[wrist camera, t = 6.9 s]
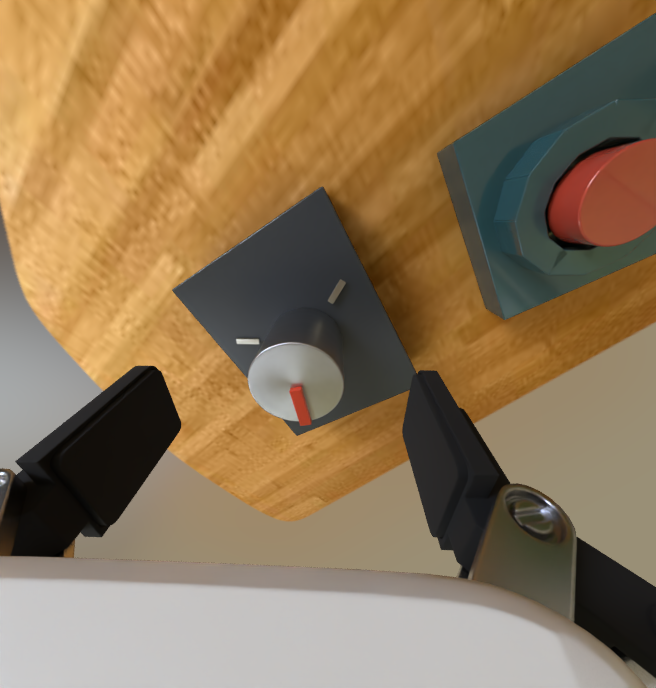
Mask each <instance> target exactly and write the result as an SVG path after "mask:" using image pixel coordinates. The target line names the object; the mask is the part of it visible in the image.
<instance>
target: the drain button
mask: <svg viewBox="0 0 656 688" xmlns="http://www.w3.org/2000/svg"><path fill="white" fill-rule="evenodd" d="M547 219H548V225H549V228H550V230H551V231H552V233H553V234H554V235H555V236H556V237H557V238H558V239H560V240H562V241H564V242H568V243H575V244H584V245H592V246H600V247H612V246H617V245H621V244H625V243H628V242H630V241H632V240H635V239H636V238H638V237H640V236H642V235H643V234H645V233H647V232H648V231H649V230H651V229H652V228H653V227H655V226H656V138H650V139H645V140H641V141H637V142H633V143H629V144H625V145H621V146H617V147H612V148H608V149H604V150H600V151H598V152H595V153H593V154H591V155H589V156H587V157H585V158H584V159H582V160H581V161H579V162H578V163H577V164H575V165H574V166H573V167H572V168H571V169H570V170H569V171H568V172H567V173H566V174H565V175H564V176H563V178H562V179H561V180H560V182H559V183H558V185H557V186H556V188H555V190H554V192H553V194H552V196H551V199H550V202H549V205H548V211H547Z"/></svg>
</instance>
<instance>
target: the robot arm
mask: <svg viewBox="0 0 656 688" xmlns="http://www.w3.org/2000/svg"><path fill="white" fill-rule="evenodd" d="M180 429H181V421H180V418H179V416H178V413H177V411H176V408H175V406H174V403H173V400H172V398H171V395H170V393H169V390H168V388H167V385H166V382H165V380H164V377H163V375H162V373H161V371H159V370H158V369H157V368H156V367H154V366H135V367H134V368H132V369H131V370H130V371H128V372H127V373H126V374H125V375H123V376H122V377H121V378H120V379H118V380H117V381H116V382H115V383H113V384H112V385H111V386H110V387H108V388H107V389H106V390H105V391H103V392H102V393H101V394H100V395H98V396H97V397H96V398H95V399H93V400H92V401H91V402H89V403H88V404H87V405H86V406H85V407H83V408H82V409H81V410H80V411H78V412H77V413H76V414H74V415H73V416H72V417H71V418H70V419H68V420H67V421H66V422H64V423H63V424H62V425H61V426H59V427H58V428H57V429H56V430H54V431H53V432H52V433H51V434H49V435H48V436H47V437H45V438H44V439H43V440H42V441H40V442H39V443H38V444H37V445H35V446H34V447H33V448H32V449H30V450H29V451H28V452H27V453H25V454H24V455H23V456H22V457H20V458H19V459H18V460H17V461H16V463H17V464H18V465H19V466H20V467H21V468H22V469H23V470H22V471H21V472H20V473H18V474H17V475H16V474H15V473H14V472H13V471H11V470H10V469H3V468H2V469H0V688H656V587H655V586H653V585H651V584H650V583H648V582H647V581H645V580H644V579H642V578H641V577H639V576H637V575H636V574H634V573H633V572H631V571H630V570H628V569H626V568H625V567H623V566H622V565H620V564H619V563H617V562H616V561H614V560H612V559H611V558H609V557H608V556H606V555H605V554H603V553H601V552H600V551H598V550H597V549H595V548H594V547H592V546H590V545H589V544H587V543H586V542H584V541H582V540H581V539H580V538H578V537H576V531H575V528H574V526H573V524H572V522H571V520H570V518H569V517H568V516H567V514H566V513H565V512H564V511H563V510H562V508H561V507H560V506H559V505H557V504H556V503H555V502H554V501H553V500H552V499H551V498H549V497H548V496H546V495H545V494H543V493H542V492H540V491H538V490H536V489H534V488H531V487H529V486H526V485H522V484H510V482H509V480H508V479H507V477H506V476H505V474H504V472H503V471H502V469H501V468H500V466H499V465H498V463H497V461H496V460H495V458H494V456H493V455H492V453H491V452H490V450H489V448H488V447H487V445H486V443H485V442H484V441H483V439H482V437H481V435H480V434H479V432H478V431H477V429H476V427H475V426H474V424H473V423H472V421H471V419H470V418H469V416H468V415H467V413H466V412H465V411H464V410H463V409H462V408H459V407H458V406H457V404H456V402H455V401H454V399H453V397H452V396H451V394H450V392H449V391H448V389H447V387H446V386H445V384H444V382H443V380H442V379H441V377H440V375H439V374H438V372H437V371H424V370H420V371H419V372H418V374H414V375H413V377H412V382H411V387H410V392H409V397H408V402H407V407H406V413H405V418H404V423H403V438H404V442H405V445H406V449H407V452H408V456H409V459H410V463H411V466H412V470H413V473H414V477H415V480H416V484H417V487H418V491H419V494H420V498H421V501H422V505H423V508H424V512H425V515H426V519H427V523H428V526H429V529H430V533H431V534H432V536H433V537H437V538H438V541H439V544H440V548H441V550H453V551H454V554H455V557H456V560H457V562H458V563H459V564H460V565H461V566H460V569H459V571H458V574H457V577H447V576H440V575H431V574H420V573H405V572H389V571H375V570H360V569H337V568H316V567H294V566H272V565H271V566H270V565H249V564H224V563H200V562H175V561H173V562H172V561H150V560H123V559H120V560H119V559H94V558H74V547H75V538H76V537H77V536H78V535H79V533H80V532H81V533H82V534H83V535H84V536H85V537H87V536H88V537H102V536H103V534H104V533H105V532H106V531H107V529H108V528H109V526H110V525H112V524H114V523H115V522H116V521H117V520H118V519H119V517H120V516H121V514H122V513H123V511H124V510H125V508H126V507H127V506H128V504H129V503H130V501H131V500H132V498H133V497H134V496H135V494H136V493H137V491H138V490H139V489H140V487H141V486H142V484H143V483H144V481H145V480H146V478H147V477H148V475H149V474H150V473H151V471H152V470H153V468H154V467H155V466H156V464H157V463H158V461H159V460H160V458H161V457H162V456H163V454H164V453H165V451H166V450H167V448H168V447H169V446H170V444H171V443H172V441H173V440H174V438H175V437H176V436H177V434H178V433H179V431H180Z"/></svg>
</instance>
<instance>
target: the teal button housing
mask: <svg viewBox="0 0 656 688" xmlns="http://www.w3.org/2000/svg"><path fill="white" fill-rule="evenodd" d="M650 138H656V13H654V14H653V15H651V16H650V17H648V18H646V19H645V20H643V21H642V22H640V23H639V24H637V25H635V26H634V27H632V28H631V29H629V30H628V31H626V32H624V33H623V34H621V35H620V36H618V37H617V38H615V39H613V40H612V41H610V42H609V43H607V44H606V45H604V46H602V47H601V48H599V49H598V50H596V51H595V52H593V53H592V54H590V55H588V56H587V57H585V58H584V59H582V60H581V61H579V62H578V63H576V64H574V65H573V66H571V67H570V68H568V69H567V70H565V71H564V72H562V73H560V74H559V75H557V76H556V77H554V78H553V79H551V80H550V81H548V82H546V83H545V84H543V85H542V86H540V87H539V88H537V89H535V90H534V91H532V92H531V93H529V94H528V95H526V96H525V97H523V98H521V99H520V100H518V101H517V102H515V103H514V104H512V105H511V106H509V107H507V108H506V109H504V110H503V111H501V112H500V113H498V114H497V115H495V116H493V117H492V118H490V119H489V120H487V121H486V122H484V123H483V124H481V125H479V126H478V127H476V128H475V129H473V130H472V131H470V132H469V133H467V134H465V135H464V136H462V137H461V138H459V139H458V140H456V141H455V142H453V143H451V144H450V145H448V146H447V147H445V148H444V149H442V150H441V151H439V152H438V153H437V156H438V159H439V162H440V165H441V168H442V171H443V174H444V178H445V181H446V184H447V187H448V190H449V193H450V197H451V200H452V203H453V206H454V209H455V212H456V216H457V219H458V222H459V225H460V228H461V231H462V234H463V238H464V241H465V244H466V247H467V250H468V253H469V257H470V260H471V263H472V266H473V269H474V272H475V276H476V279H477V282H478V285H479V288H480V291H481V295H482V298H483V301H484V304H485V307H486V309H488V310H489V311H491V312H492V313H494V314H496V315H497V316H499V317H500V318H502V319H504V320H506V319H508V318H511V317H513V316H515V315H517V314H520V313H522V312H524V311H527V310H529V309H531V308H533V307H536V306H538V305H540V304H542V303H545V302H547V301H549V300H552V299H554V298H556V297H558V296H561V295H563V294H565V293H568V292H570V291H572V290H574V289H577V288H579V287H581V286H583V285H586V284H588V283H590V282H593V281H595V280H597V279H599V278H602V277H604V276H606V275H608V274H611V273H613V272H615V271H618V270H620V269H622V268H624V267H627V266H629V265H631V264H634V263H636V262H638V261H640V260H643V259H645V258H647V257H649V256H652V255H654V254H656V226H655V227H653V228H652V229H651V230H649V231H648V232H647V233H645V234H643V235H642V236H640V237H638V238H636V239H635V240H632V241H630V242H628V243H625V244H621V245H617V246H612V247H600V246H592V245H584V244H575V243H568V242H564V241H562V240H560V239H558V238H557V237H556V236H555V235H554V234H553V233H552V231H551V230H550V228H549V225H548V219H547V211H548V205H549V202H550V199H551V196H552V194H553V192H554V190H555V188H556V186H557V185H558V183H559V182H560V180H561V179H562V178H563V176H564V175H565V174H566V173H567V172H568V171H569V170H570V169H571V168H572V167H573V166H574V165H575V164H577V163H578V162H579V161H581V160H582V159H584V158H585V157H587V156H589V155H591V154H593V153H595V152H598V151H600V150H604V149H608V148H612V147H617V146H621V145H625V144H629V143H633V142H637V141H641V140H645V139H650Z"/></svg>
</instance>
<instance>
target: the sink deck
mask: <svg viewBox="0 0 656 688" xmlns="http://www.w3.org/2000/svg"><path fill="white" fill-rule="evenodd" d="M172 291H173V292H174V293H175V294H176V296H177V297H178V298H179V299H180V300H181V301H182V303H183V304H184V305H185V306H186V307H187V308H188V310H189V311H190V312H191V313H192V314H193V315H194V317H195V318H196V319H197V320H198V321H199V322H200V324H201V325H202V326H203V327H204V328H205V329H206V331H207V332H208V333H209V334H210V335H211V336H212V338H213V339H214V340H215V341H216V342H217V343H218V345H219V346H220V347H221V348H222V349H223V350H224V352H225V353H226V354H227V355H228V356H229V357H230V359H231V360H232V361H233V362H234V363H235V364H236V366H237V367H238V368H239V369H240V370H241V371H242V373H243V374H244V375H245V376H246V377H247V378H248V372H249V368H250V365H251V363H252V362H253V360H254V358H255V356H256V355H257V353H258V351H259V349H260V348H261V346H262V344H263V342H264V341H265V339H266V337H267V336H268V334H269V332H270V330H271V329H272V327H273V325H274V323H275V322H276V321H277V319H278V318H279V317H280V316H282V315H283V314H284V313H286V312H288V311H290V310H293V309H297V308H312V309H316V310H319V311H321V312H323V313H325V314H327V315H328V316H329V317H331V318H332V319H333V320H334V321H335V323H336V324H337V325H338V327H339V329H340V331H341V335H342V343H343V366H344V391H343V395H342V397H341V399H340V401H339V403H338V404H337V405H336V407H335V408H334V409H333V410H332V411H330V412H329V413H328V414H326V415H324V416H323V417H320V418H318V419H314V420H312V423H311V425H305V426H300V423H299V421H289V420H285V419H283V420H284V421H285V423H286V424H287V425H288V426H289V427H290V428H291V430H292V431H293V432H294V433H295V434H296V435H297V436H298V435H300V434H303V433H305V432H308V431H310V430H312V429H315V428H317V427H320V426H322V425H325V424H327V423H330V422H332V421H334V420H337V419H339V418H342V417H344V416H347V415H349V414H352V413H354V412H356V411H359V410H361V409H364V408H366V407H369V406H371V405H374V404H376V403H378V402H381V401H383V400H386V399H388V398H391V397H393V396H396V395H398V394H400V393H403V392H405V391H408V390H410V387H411V382H412V377H413V375H414V374H417V373H416V371H415V369H414V367H413V365H412V363H411V361H410V359H409V357H408V355H407V353H406V351H405V349H404V347H403V345H402V343H401V341H400V339H399V337H398V335H397V333H396V331H395V329H394V327H393V325H392V323H391V321H390V319H389V317H388V315H387V313H386V311H385V309H384V307H383V305H382V303H381V301H380V299H379V297H378V295H377V293H376V291H375V289H374V287H373V285H372V283H371V281H370V279H369V277H368V275H367V273H366V271H365V269H364V267H363V265H362V263H361V261H360V259H359V257H358V255H357V253H356V251H355V249H354V247H353V245H352V243H351V241H350V239H349V237H348V235H347V233H346V231H345V229H344V227H343V225H342V223H341V221H340V219H339V217H338V215H337V213H336V211H335V209H334V207H333V205H332V203H331V201H330V199H329V197H328V195H327V193H326V191H325V189H324V187H323V186H322V187H320V188H319V189H317V190H316V191H314V192H313V193H311V194H310V195H308V196H307V197H305V198H304V199H303V200H301V201H300V202H298V203H297V204H295V205H294V206H292V207H291V208H290V209H288V210H287V211H285V212H284V213H282V214H281V215H279V216H278V217H276V218H275V219H274V220H272V221H271V222H269V223H268V224H266V225H265V226H263V227H262V228H261V229H259V230H258V231H256V232H255V233H253V234H252V235H250V236H249V237H247V238H246V239H245V240H243V241H242V242H240V243H239V244H237V245H236V246H234V247H233V248H232V249H230V250H229V251H227V252H226V253H224V254H223V255H221V256H220V257H218V258H217V259H216V260H214V261H213V262H211V263H210V264H208V265H207V266H205V267H204V268H203V269H201V270H200V271H198V272H197V273H195V274H194V275H192V276H191V277H189V278H188V279H187V280H185V281H184V282H182V283H181V284H179V285H178V286H176V287H175V288H174V289H173V290H172Z"/></svg>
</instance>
